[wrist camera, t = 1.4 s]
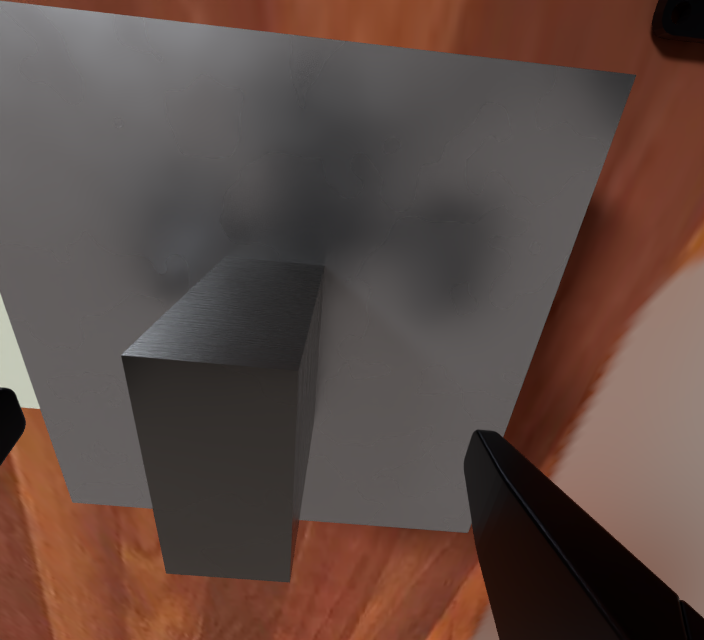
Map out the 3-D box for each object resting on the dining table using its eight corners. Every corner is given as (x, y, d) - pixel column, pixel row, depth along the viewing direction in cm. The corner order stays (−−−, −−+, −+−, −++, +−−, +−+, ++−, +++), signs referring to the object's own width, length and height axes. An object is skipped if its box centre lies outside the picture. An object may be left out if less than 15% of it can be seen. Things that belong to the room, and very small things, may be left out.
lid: (605, 80, 8) (969, 8, 3) (461, 508, 15) (513, 701, 10) (-53, 4, 8) (-743, -207, 3) (90, 478, 14) (-53, 665, 9)
